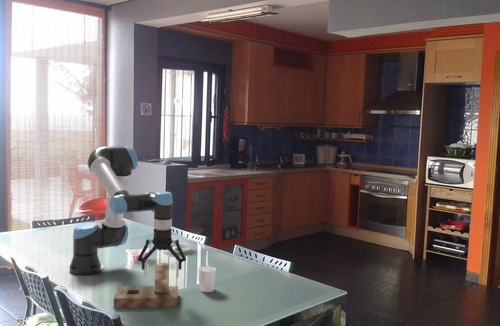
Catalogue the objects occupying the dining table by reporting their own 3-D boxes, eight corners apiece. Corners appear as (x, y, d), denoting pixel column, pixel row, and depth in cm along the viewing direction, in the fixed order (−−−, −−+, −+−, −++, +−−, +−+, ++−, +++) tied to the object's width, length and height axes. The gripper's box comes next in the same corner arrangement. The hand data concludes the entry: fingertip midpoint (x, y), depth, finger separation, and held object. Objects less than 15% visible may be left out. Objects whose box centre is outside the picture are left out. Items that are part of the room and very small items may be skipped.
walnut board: (113, 307, 205) (113, 298, 204) (118, 295, 218) (118, 286, 218) (177, 307, 208) (177, 297, 207) (178, 294, 222) (178, 286, 221)
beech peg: (153, 303, 210) (154, 267, 209) (154, 298, 216) (155, 262, 215) (168, 303, 211) (169, 267, 210) (168, 298, 217) (169, 262, 216)
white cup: (198, 286, 233) (198, 266, 232) (215, 286, 233) (215, 266, 232) (197, 292, 225) (198, 271, 224) (215, 293, 226) (216, 271, 225)
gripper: (131, 230, 205) (130, 279, 208) (192, 230, 209) (190, 279, 211) (133, 225, 213) (132, 273, 215) (192, 226, 216) (190, 273, 218)
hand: (161, 276), depth 213 cm, fingers open, 13 cm apart
